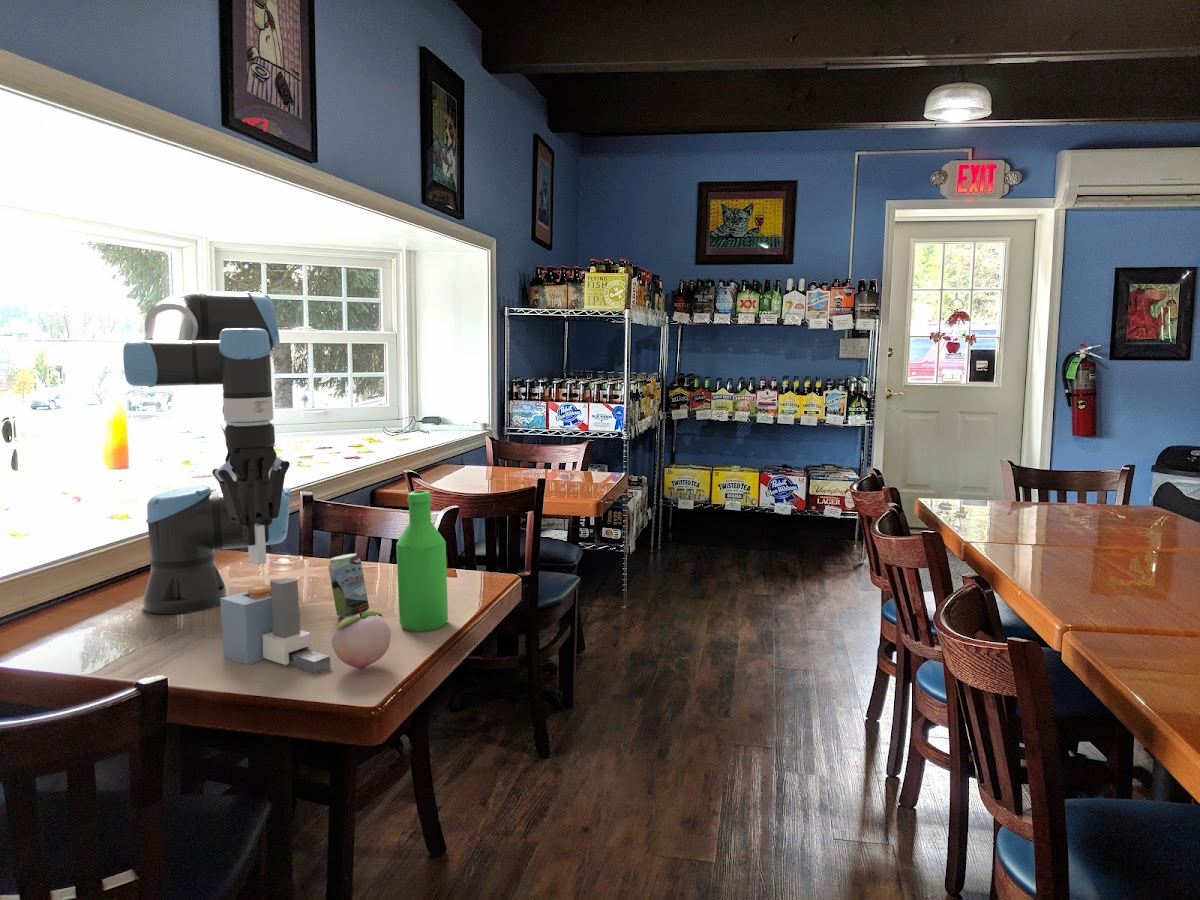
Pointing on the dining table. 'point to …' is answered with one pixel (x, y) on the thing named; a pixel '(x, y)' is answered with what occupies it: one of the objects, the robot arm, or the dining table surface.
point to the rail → (309, 661)
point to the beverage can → (348, 585)
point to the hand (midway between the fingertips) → (257, 562)
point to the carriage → (285, 623)
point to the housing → (245, 626)
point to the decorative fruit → (361, 639)
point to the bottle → (421, 569)
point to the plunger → (259, 591)
